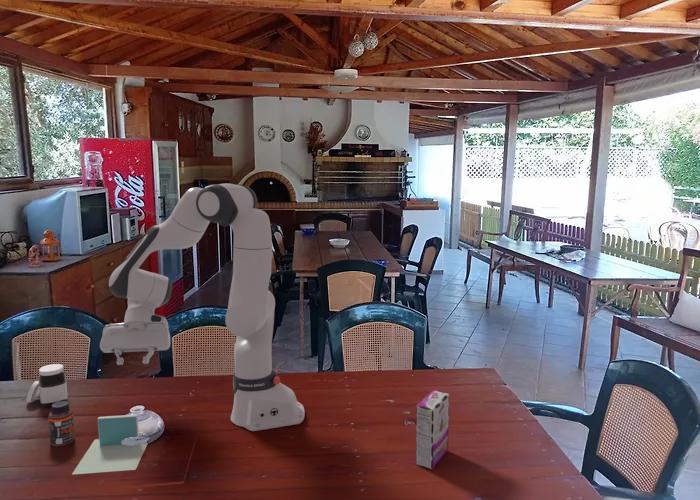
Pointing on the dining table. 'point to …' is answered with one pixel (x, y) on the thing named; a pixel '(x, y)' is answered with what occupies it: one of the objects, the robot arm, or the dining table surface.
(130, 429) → the tile
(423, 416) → the candy bar box
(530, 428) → the dining table surface
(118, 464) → the mat
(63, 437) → the supplement bottle
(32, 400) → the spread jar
